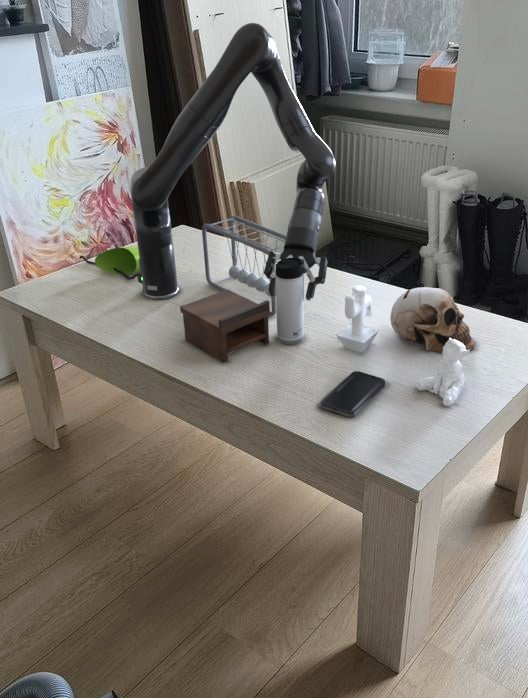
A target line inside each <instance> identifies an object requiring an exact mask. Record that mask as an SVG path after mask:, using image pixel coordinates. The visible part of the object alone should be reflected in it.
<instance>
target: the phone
mask: <svg viewBox="0 0 528 698" xmlns="http://www.w3.org/2000/svg"><path fill="white" fill-rule="evenodd" d="M385 387H386V379H384V377H383V378H382V377H379V376H376V375H373V374H369V373H367V372H363V371H359V370H354V371H352V372H351V373H350V374H348V375H347V376H346V377H345V378H344V379H343V380H342V381H341V382H339V384H338V385H336V386H335V387H334V388H333V389H332V390H331V391H330V392H328V393H327V394H326V396H324V397H323V398H322V399H321V401H320V407H321V408H322V409H324V410H327V411H330V412H333V413H336V414H339V415H341V416H345V417H347V418H353V417H356V416H357V415H358V414H359V413H360V411H362V410H363V409H364V408H365V407H366V406H367V405H368V404H369V403H370V402H371V401H372V400H373V399H374V398H375V397H376V396H377V395H378V393H380V392H381V391H382V390H383V389H385Z"/></svg>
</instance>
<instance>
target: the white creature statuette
mask: <svg viewBox="0 0 528 698" xmlns="http://www.w3.org/2000/svg"><path fill="white" fill-rule="evenodd" d="M470 352H471V350H466V347H465V346H464V344H463V343H460V342H459V341H457V340H455V339H454V340H452V339H451V338H450V337H449V340H448V341H447V343H445V346H444V347H443V352H441V354H442V356H443V358H441V359H440V362H439V363H438V364H437V365H436V370H437V374H436V375H434V376H430V377H428V376H427V377H425V378H424V377H423V378H422V379H420V380H417V382H416V387H417V389H418V391H422V392H423V391H424V392H425V391H428V392H430V393H432V394H434V395H438V396H439V398H440V399H442V401H443V402H442V403H443V406H445V407H447V408H448V407H451V406H452V405H454V404H455V402H456V401H457V399H458V398H459V396H460V395H461V392H462V391H463V390H464V386H465V385H466V377H465V375H464V372H463V365H462V364H461V362H460V361H462V360H463V359H464V358H465V357H467V356H468V355H469V354H470Z"/></svg>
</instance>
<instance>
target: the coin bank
mask: <svg viewBox="0 0 528 698" xmlns="http://www.w3.org/2000/svg"><path fill="white" fill-rule="evenodd" d="M389 318H390V319H389V320H390V321H389V322H390V326H391V328H392V330H393V331H394V333H396V335H398V336H399V337H400V338H401V339H403V340H405V341H406V342H409V343H412V344H413V343H414V344H415V343H417V344H425V350H426V351H429V352H433V351H434V352H439V353H443V347H444V346H445V343H447V341H448V340H449V337H450V338H451V339H452V340H454V339H455V340H457V341H459V342H460V343H463V344H464V346H465V347H466V350H470V351H472V350H474V349H475V346H476V341H475V340H474V338H473V337H472V336H471V334H470V332H471V331H470V327H469V325H468V323H466V322H464V320H463V319H464V318H465V314H464V313H463V312H462V311H460V309H459V307H458V306H457V304H456V302H455V299H454V296H451V295H450V294H449V293H448V291H446V290H444V289H443V288H437V287H427V286H424V287H414V288H411V289H408V290H405V292H403V293H401V295H399V297H398V298H397V299H396V300H395V302H394V303H393V305H392V307H391V312H390V317H389Z"/></svg>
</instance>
